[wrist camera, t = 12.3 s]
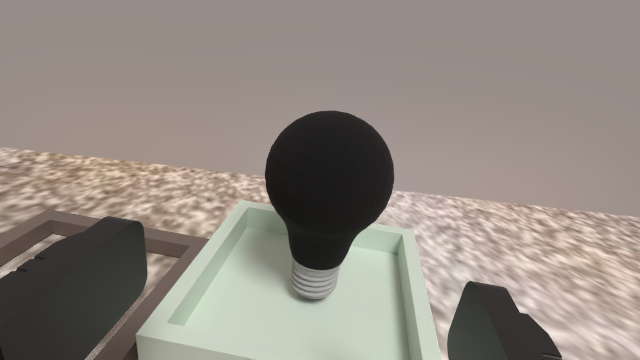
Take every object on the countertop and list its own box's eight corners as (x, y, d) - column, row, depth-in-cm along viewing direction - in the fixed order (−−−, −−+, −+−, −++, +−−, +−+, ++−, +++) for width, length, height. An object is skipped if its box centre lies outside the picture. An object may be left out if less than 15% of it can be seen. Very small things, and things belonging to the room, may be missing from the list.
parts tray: (139, 373, 14) (135, 334, 14) (239, 226, 25) (240, 199, 25) (435, 437, 14) (450, 399, 13) (405, 257, 25) (413, 230, 24)
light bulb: (277, 252, 22) (293, 92, 18) (370, 275, 21) (407, 111, 17) (237, 319, 17) (246, 114, 13) (358, 353, 16) (407, 144, 12)
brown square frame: (-198, 369, 13) (-210, 350, 13) (50, 222, 23) (48, 209, 23) (83, 434, 12) (78, 416, 12) (212, 253, 22) (213, 240, 22)
